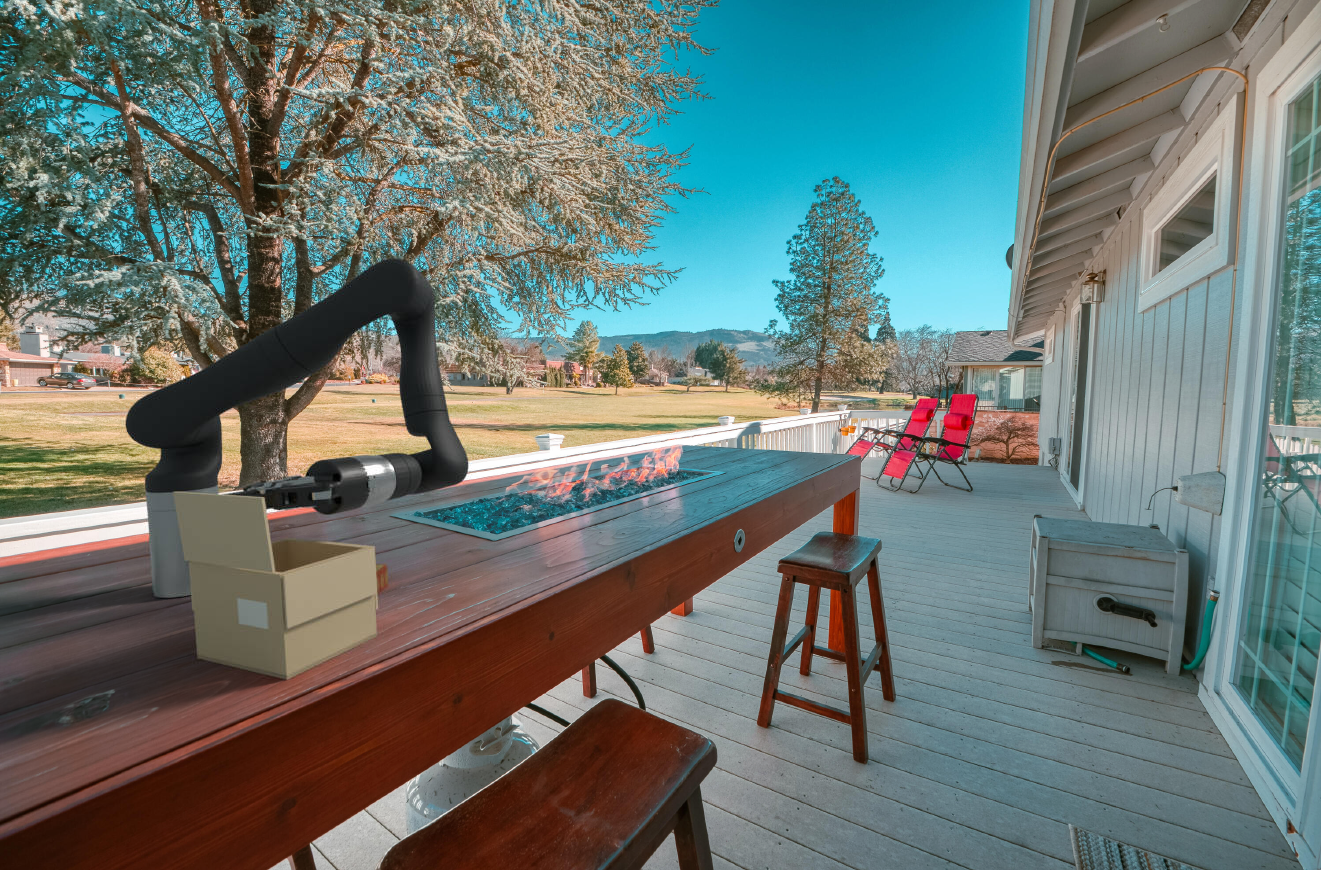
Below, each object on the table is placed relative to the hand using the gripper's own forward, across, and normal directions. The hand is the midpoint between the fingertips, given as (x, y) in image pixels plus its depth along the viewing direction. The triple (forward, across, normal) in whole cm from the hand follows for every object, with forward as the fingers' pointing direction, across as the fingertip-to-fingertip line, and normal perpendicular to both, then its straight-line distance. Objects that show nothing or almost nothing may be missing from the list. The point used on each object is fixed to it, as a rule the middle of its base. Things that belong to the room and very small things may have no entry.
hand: (219, 505), depth 63 cm
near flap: (0, 0, +3) cm, 3 cm away
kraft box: (-7, 0, +20) cm, 21 cm away
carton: (-22, -13, +20) cm, 32 cm away
